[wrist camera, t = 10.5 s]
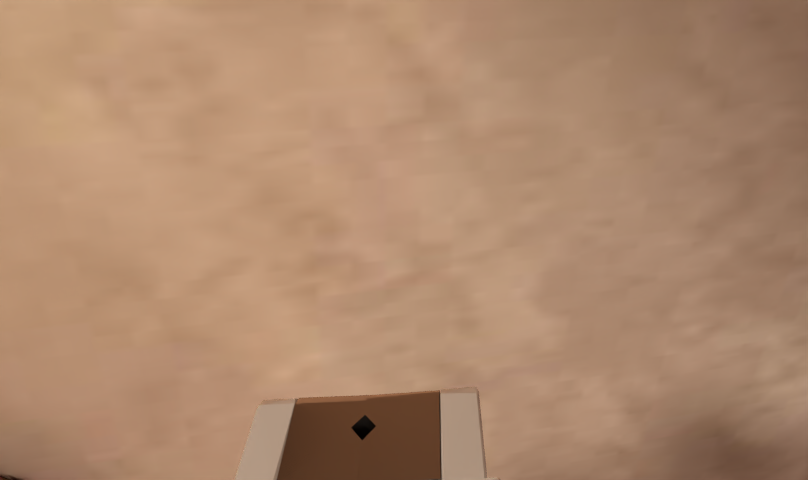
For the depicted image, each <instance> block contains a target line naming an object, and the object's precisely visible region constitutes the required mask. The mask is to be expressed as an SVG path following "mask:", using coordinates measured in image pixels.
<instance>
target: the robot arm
mask: <svg viewBox="0 0 808 480" xmlns="http://www.w3.org/2000/svg"><path fill="white" fill-rule="evenodd" d="M235 480H500V479H499V478H487V472H486V461H485V451H484V441H483V430H482V420H481V410H480V399H479V391H478V389H477V388H476V387H464V388H453V389H441V392H440V390H437V391H423V392H408V393H394V394H379V395H360V396H334V397H308V398H299V399H274V400H263V401H262V402H261V404H260V405H259V406H258V407H257V410H256V413H255V416H254V419H253V422H252V425H251V429H250V432H249V435H248V438H247V441H246V445H245V448H244V451H243V454H242V457H241V461H240V464H239V467H238V470H237V473H236V476H235Z"/></svg>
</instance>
